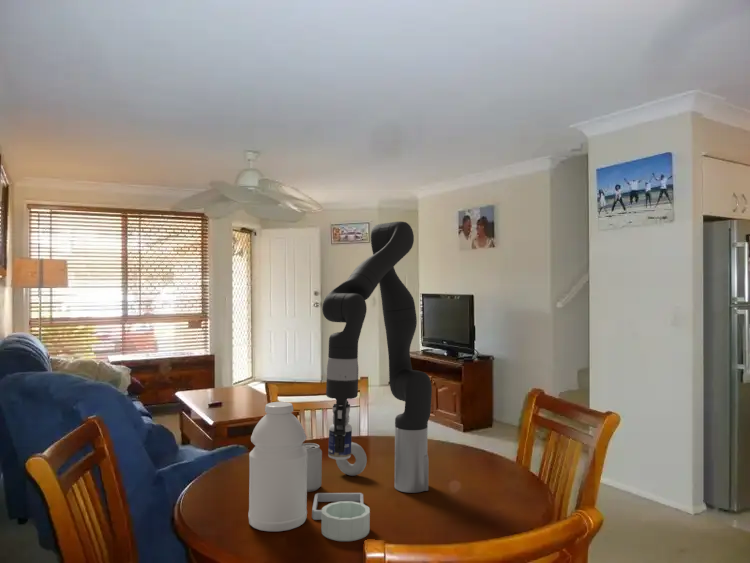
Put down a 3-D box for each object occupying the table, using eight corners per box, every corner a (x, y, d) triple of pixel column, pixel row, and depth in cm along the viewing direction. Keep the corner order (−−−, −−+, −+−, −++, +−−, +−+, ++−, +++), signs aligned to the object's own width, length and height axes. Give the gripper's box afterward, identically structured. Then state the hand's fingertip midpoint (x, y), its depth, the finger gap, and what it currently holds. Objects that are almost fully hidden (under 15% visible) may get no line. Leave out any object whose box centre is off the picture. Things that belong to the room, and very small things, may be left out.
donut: (333, 475, 172) (333, 441, 172) (338, 471, 175) (338, 439, 175) (363, 479, 168) (364, 445, 168) (368, 475, 171) (368, 442, 171)
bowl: (368, 521, 137) (368, 501, 137) (370, 541, 126) (370, 519, 126) (323, 521, 137) (323, 501, 137) (320, 541, 126) (320, 519, 126)
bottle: (254, 536, 128) (256, 411, 129) (242, 514, 141) (244, 400, 141) (314, 527, 134) (315, 407, 134) (298, 506, 146) (299, 397, 147)
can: (316, 493, 156) (317, 449, 156) (290, 491, 157) (291, 447, 157) (324, 484, 163) (325, 442, 163) (299, 482, 165) (300, 441, 165)
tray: (362, 500, 151) (363, 492, 151) (363, 519, 138) (363, 511, 138) (315, 500, 151) (315, 493, 151) (311, 519, 138) (311, 511, 138)
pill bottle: (333, 461, 131) (334, 418, 132) (324, 455, 136) (326, 414, 136) (354, 458, 134) (355, 417, 134) (345, 453, 138) (347, 412, 139)
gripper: (357, 381, 128) (355, 457, 128) (359, 373, 143) (357, 441, 142) (324, 380, 128) (321, 456, 128) (329, 372, 143) (327, 440, 142)
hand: (340, 448), depth 135 cm, fingers closed on pill bottle, 5 cm apart
